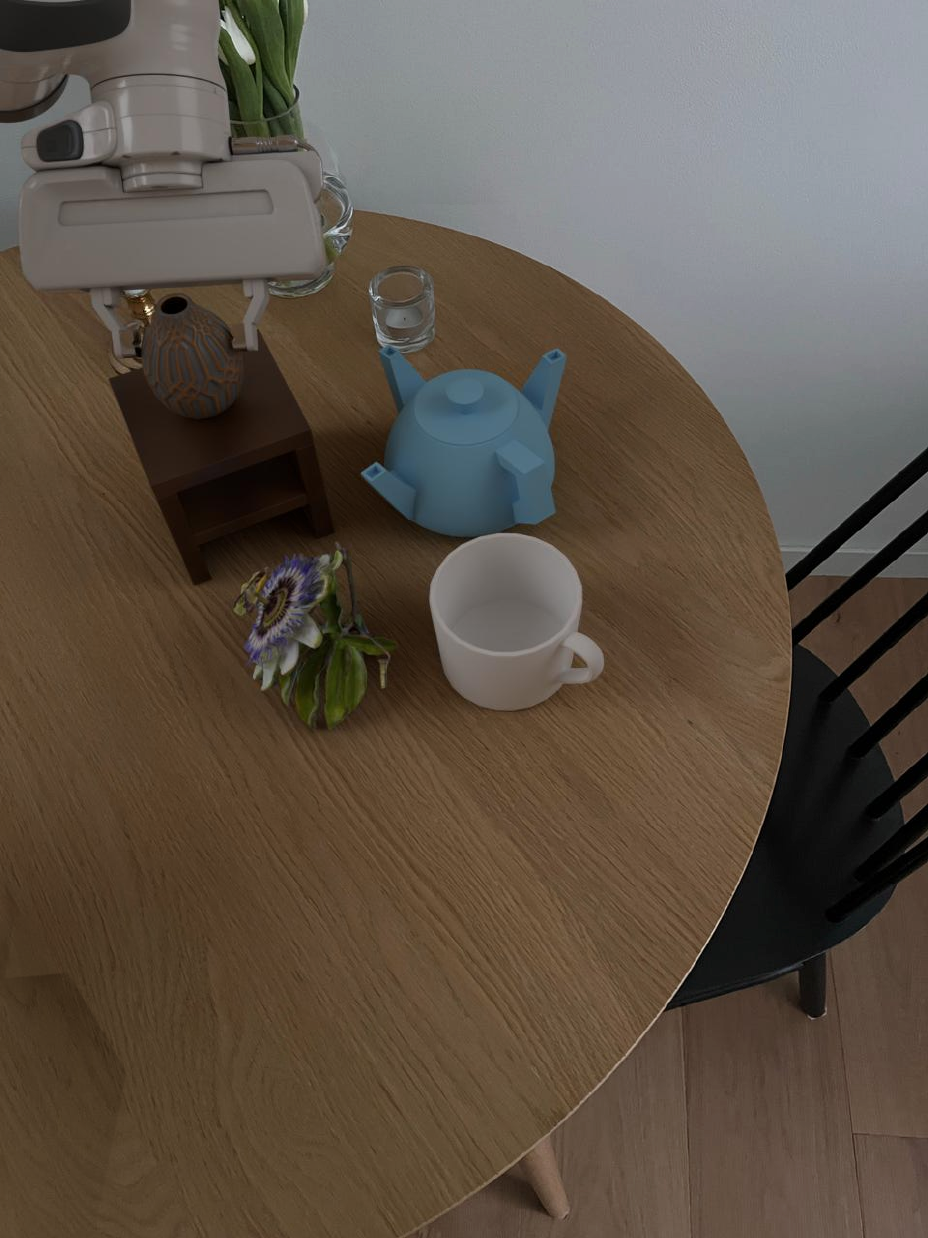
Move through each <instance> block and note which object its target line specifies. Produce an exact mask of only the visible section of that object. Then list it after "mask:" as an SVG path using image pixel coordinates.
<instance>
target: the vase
mask: <svg viewBox="0 0 928 1238" xmlns="http://www.w3.org/2000/svg"><path fill="white" fill-rule="evenodd" d="M154 309H155V310H154V314H153V317H152V318H151V320H150V322H149V323H148V325H147V327H146V329H145V331H144V333H143V336H142V339H141V341H142V342H141V345H140V346H141V357H140V359H141V360H140V361H141V366H142V367H143V371H144V374H145V377H146V380H147V382H148V384H149V386H150V388H151V390H152V392H153V393H154V394H155V396H156V397H157V398H158V400H159V401H160V402H161V403H162V404H163V405H164V406H166V407H167V408H168V409H169V410H171V411H172V412H174V413H176V414H179V415H181V416H184V417H188V418H194V419H205V418H210V417H213V416H216V415H218V414H220V413H222V412H223V411H225V410H226V409H227V408H228V407H229V406H231V405H232V403H233V402H234V401H235V400H236V398H237V396H238V395H239V393H240V390H241V387H242V384H243V378H244V363H243V357H242V353H241V352H235V351H234V350H233V346H232V340H233V338H234V337H233V336H232V335H231V327H229V325H228V324H227V323H226V322H225V321H224V319H222V318H221V317H220V316H219V315H218V314H216V313H215V312H213V311H212V310H210V309H208V308H205V307H204V306H202V305H199V304H197V303H196V302H195V301H194V300H193V299H192V298H191V297H190V296H189V295H187V294H185V293H183V292H172V293H169V294H166V295H164V296H162V297H161V298H160V299H158V301H157V303H156V304H155V308H154ZM142 367H141V368H142Z"/></svg>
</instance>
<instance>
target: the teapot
mask: <svg viewBox="0 0 928 1238" xmlns="http://www.w3.org/2000/svg"><path fill="white" fill-rule="evenodd" d="M377 353H378V357H379V360H380V363H381V365H382V369H383V372H384V375H385V378H386V381H387V383H388V387H389V389H390V393H391V395H392V399H393V402H394V404H395V407H396V411H397V414H398V415H397V417H396V418H395V420H394V422H393V424H392V426H391V428H390V432H389V434H388V438H387V441H386V445H385V451H384V457H383V466H382V465H381V464H380V463H378V462H377V461H375V462H374V463H373V464H371V465H370V466H369V467H367V468H365V469H364V470H363V471H362V472H360V476H362V478H363V479H364V480H365V481H366V482H367V483H368V484H369V485H370V486H371V487H372V488H373V489H374V490H376V492H377V494H379V495H380V496H381V497H382V498H383V500H385V501H386V502H388V504H389V505H391V506H392V507H393V508H394V509H395V510H397V511H398V512H399V513H400V514H402V516H404V517H405V518H406V519H407V520H409V521H412V522H414V523H415V524H417V525H419V526H420V527H422V528H424V529H426V530H429V531H432V532H435V533H438V534H440V535H444V536H449V537H457V538H478V537H481V536H486V535H491V534H496V533H502V532H503V531H506V530H508V529H510V528H512V527H515V526H517V525H518V524H525V525H526V524H528V525H538V524H539V523H541V522H542V521H544V520H547V519H548V518H550V517H551V516H553V515H554V514H556V513H557V511H556V507H555V503H554V497H553V493H552V489H551V488H552V486H553V482H554V479H555V473H556V471H555V469H556V468H555V467H556V465H555V463H556V461H555V458H556V457H555V453H554V447H553V443H552V439H551V436H550V433H549V429H550V425H551V421H552V418H553V413H554V409H555V406H556V401H557V398H558V394H559V390H560V385H561V382H562V377H563V375H564V370H565V366H566V361H567V357H568V356H567V355H566V354H565V353H564V352H563V351H562V350H561V349H559V348H558V347H556V348H554V349H552V350H550V351H548V352H546V353H544V354H543V355H541V359H540V361H539V362H538V363H537V365H536V367H535V368H534V369H533V371H532V373H531V374H530V375H529V377H528V378H527V380H526V381H525V383H524V384H523V386H522V388H521V389H520V390H518V389H517V388H516V387H515V386H514V385H513V384H512V383H510V382H509V381H507V380H506V379H504V378H502V376H499V375H498V374H495V373H492V372H490V371H487V370H482V369H473V368H464V369H463V368H462V369H455V370H451V371H447V372H444V373H441V374H439V375H437V376H435V377H433V378H431V379H430V380H428V381H426V380H425V379H424V378H423V377H422V376H421V374H420V373H419V372H418V371H417V370H416V369H415V368H414V366H413V365H412V364H411V363H410V362H409V361H408V360H407V358H405V356H404V355H403V354H402V351H401V350H400V349H398V348H397V347H395V346H393V345H392V344H390V343H388V344H386V345H385V346H384V347H382V348H380V349H379V350H377Z"/></svg>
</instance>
